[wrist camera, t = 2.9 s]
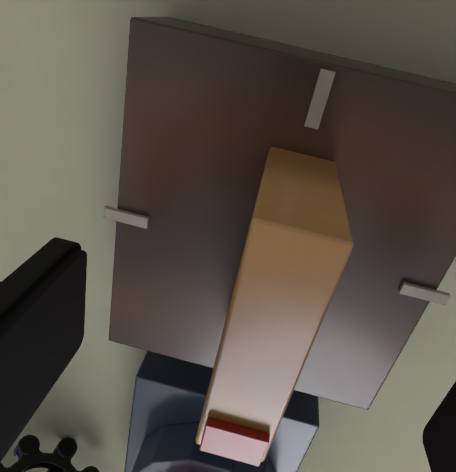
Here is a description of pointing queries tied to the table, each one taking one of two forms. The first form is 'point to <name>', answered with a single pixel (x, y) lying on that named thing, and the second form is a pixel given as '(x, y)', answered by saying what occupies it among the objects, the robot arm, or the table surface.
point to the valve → (44, 457)
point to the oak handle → (275, 303)
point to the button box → (188, 418)
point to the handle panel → (247, 186)
